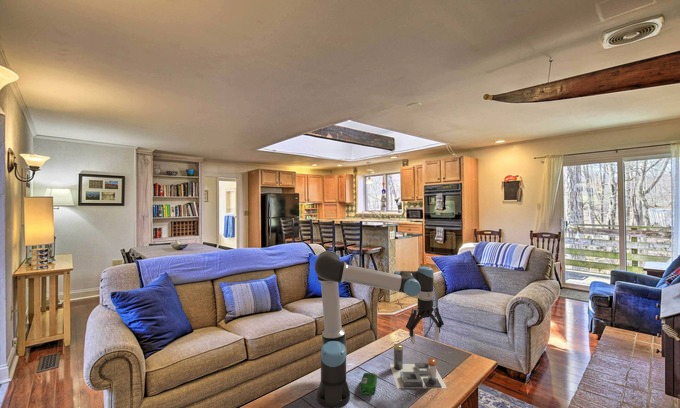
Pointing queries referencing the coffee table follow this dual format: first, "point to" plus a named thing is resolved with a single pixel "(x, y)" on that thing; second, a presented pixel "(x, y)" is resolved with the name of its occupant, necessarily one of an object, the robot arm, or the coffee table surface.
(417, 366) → the socket
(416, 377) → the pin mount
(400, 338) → the coffee table surface
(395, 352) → the cylinder
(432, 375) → the lock pin
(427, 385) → the pin pad
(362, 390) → the snack package
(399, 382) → the dock board
